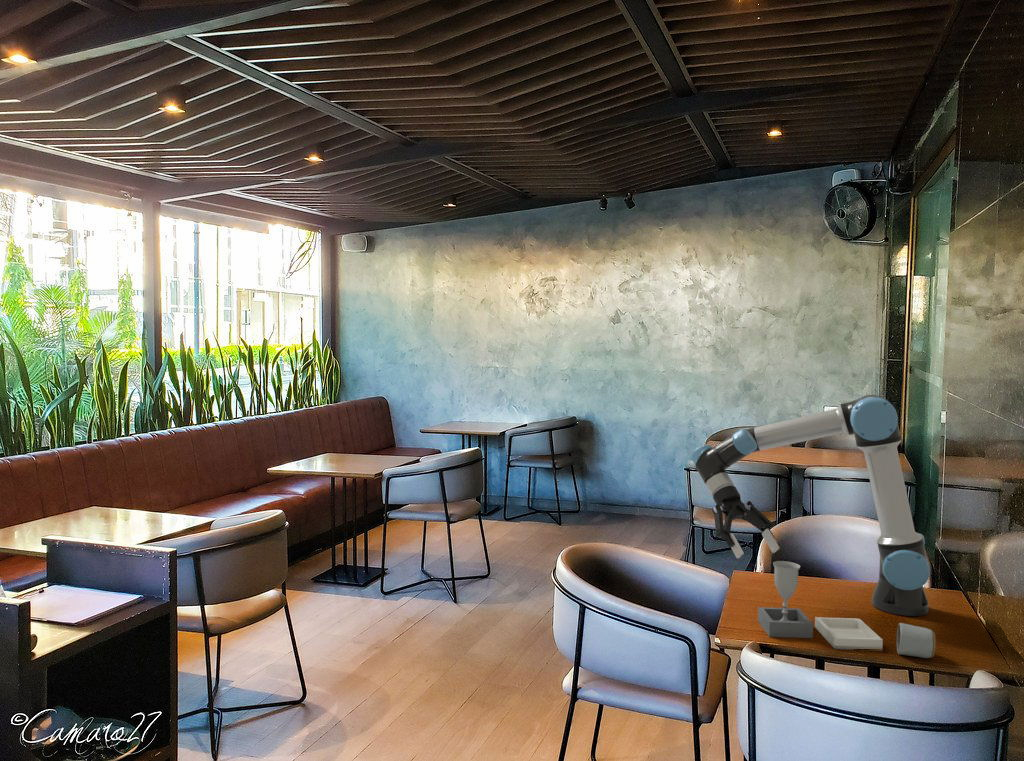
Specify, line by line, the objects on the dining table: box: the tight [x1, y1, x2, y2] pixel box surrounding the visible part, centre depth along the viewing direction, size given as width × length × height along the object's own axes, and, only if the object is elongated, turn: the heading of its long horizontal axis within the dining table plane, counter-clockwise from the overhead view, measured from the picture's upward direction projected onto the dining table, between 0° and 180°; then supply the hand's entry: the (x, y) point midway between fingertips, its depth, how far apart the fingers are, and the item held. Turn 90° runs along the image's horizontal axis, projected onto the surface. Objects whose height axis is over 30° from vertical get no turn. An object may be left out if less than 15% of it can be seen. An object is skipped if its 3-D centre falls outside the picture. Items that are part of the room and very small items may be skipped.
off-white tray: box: [814, 616, 884, 650], centre depth 203 cm, size 12×15×3 cm
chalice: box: [772, 560, 801, 621], centre depth 208 cm, size 7×7×18 cm
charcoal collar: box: [757, 606, 814, 639], centre depth 209 cm, size 11×11×4 cm
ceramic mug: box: [896, 622, 936, 659], centre depth 194 cm, size 11×8×8 cm
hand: (758, 553), depth 217 cm, fingers open, 13 cm apart
